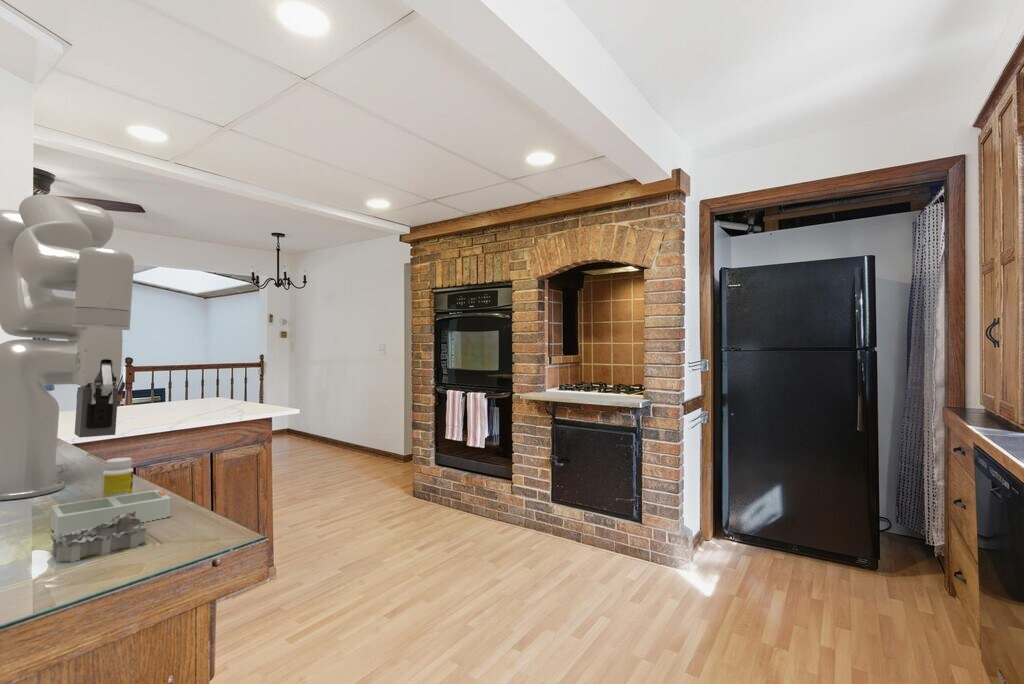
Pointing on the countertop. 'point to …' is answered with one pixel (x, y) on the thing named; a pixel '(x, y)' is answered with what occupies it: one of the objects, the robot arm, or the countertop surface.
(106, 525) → the egg carton
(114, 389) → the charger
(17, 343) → the robot arm
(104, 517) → the power strip
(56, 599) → the countertop surface
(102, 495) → the supplement bottle
